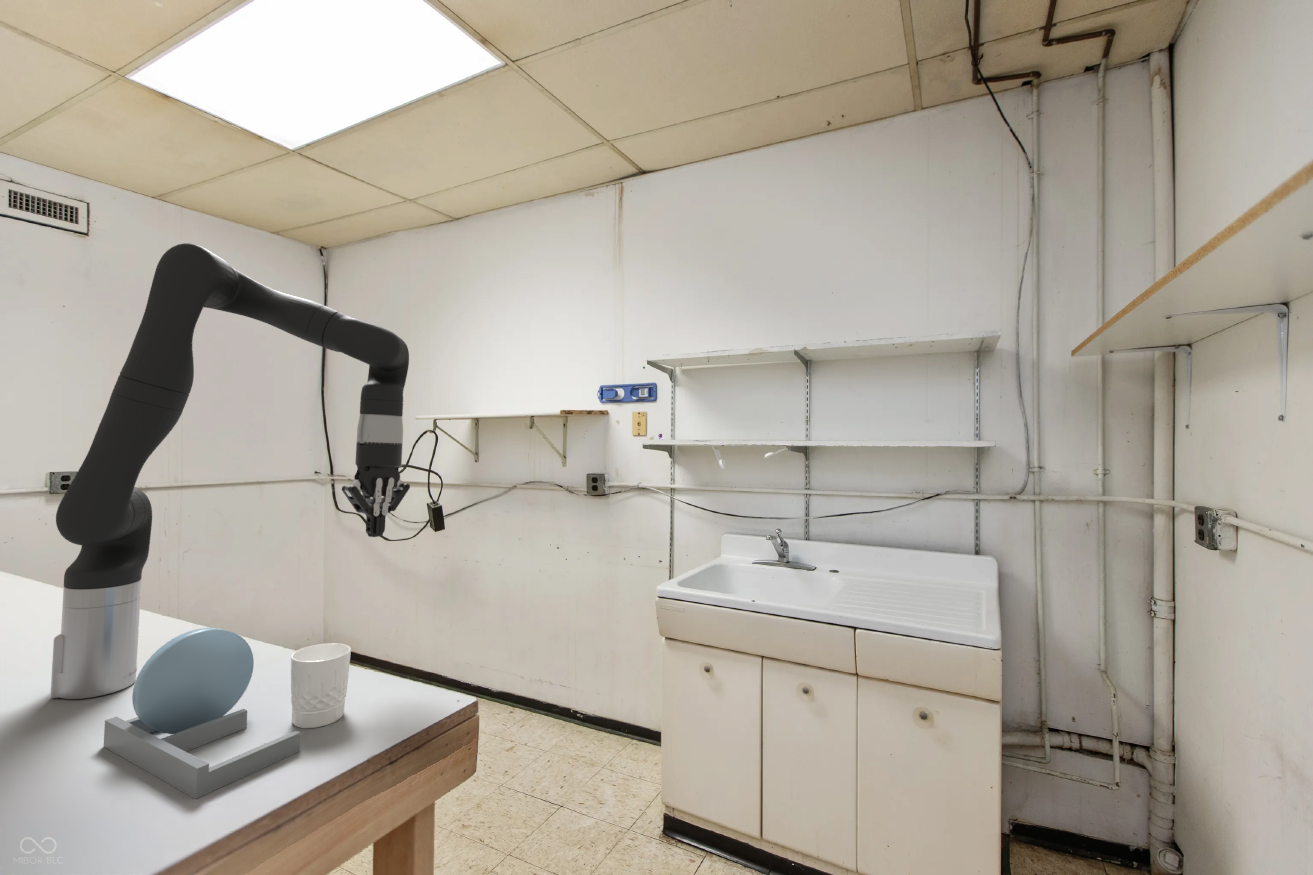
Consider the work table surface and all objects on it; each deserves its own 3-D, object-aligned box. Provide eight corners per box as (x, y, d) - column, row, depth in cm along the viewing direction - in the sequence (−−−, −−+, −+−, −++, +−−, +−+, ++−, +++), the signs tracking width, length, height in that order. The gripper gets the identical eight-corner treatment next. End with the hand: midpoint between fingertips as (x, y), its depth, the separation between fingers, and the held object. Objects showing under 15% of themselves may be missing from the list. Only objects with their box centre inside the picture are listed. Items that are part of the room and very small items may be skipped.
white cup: (304, 736, 81) (308, 665, 81) (277, 720, 85) (280, 653, 85) (358, 715, 88) (361, 650, 88) (330, 701, 92) (333, 639, 92)
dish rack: (230, 702, 90) (234, 613, 90) (322, 740, 80) (327, 639, 80) (103, 746, 76) (109, 640, 77) (195, 798, 66) (202, 677, 67)
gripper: (395, 441, 111) (391, 530, 110) (332, 438, 99) (326, 538, 98) (424, 442, 108) (419, 534, 107) (361, 440, 96) (356, 543, 95)
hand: (374, 536), depth 103 cm, fingers closed
